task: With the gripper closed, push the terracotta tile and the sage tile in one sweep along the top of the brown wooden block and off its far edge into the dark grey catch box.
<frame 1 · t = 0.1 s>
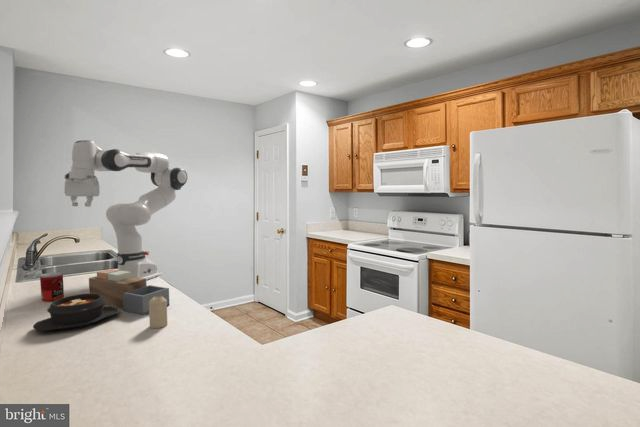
hand: (81, 206, 165), 39 cm above the countertop, tool pointing down, fingers open, 8 cm apart
canned food: (53, 300, 156), on the countertop
casserole: (78, 323, 129), on the countertop
tile terracotta: (108, 277, 153), point 10 cm above the countertop, touching brown wooden block
brown wooden block: (118, 302, 151), on the countertop
catch box: (147, 308, 144), on the countertop
candle: (158, 326, 125), on the countertop
tile sage: (119, 278, 150), point 10 cm above the countertop, touching brown wooden block
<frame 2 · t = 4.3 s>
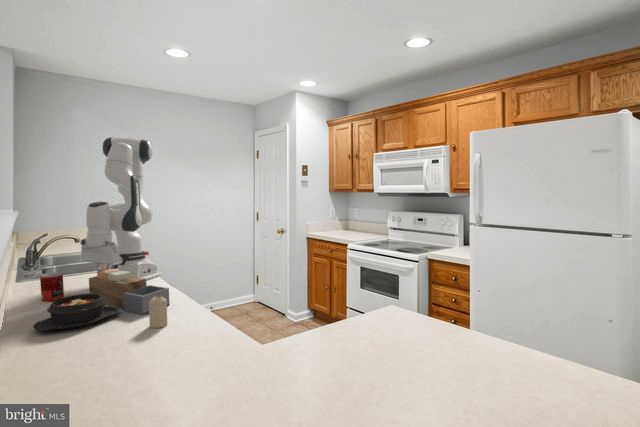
hand: (101, 273, 154), 11 cm above the countertop, tool pointing down, fingers closed
tile terracotta: (108, 277, 153), point 10 cm above the countertop, touching gripper
everything else where it was.
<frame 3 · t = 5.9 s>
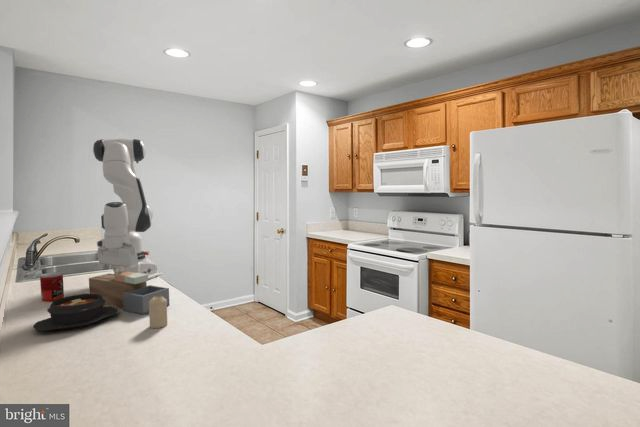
hand: (118, 276, 149), 11 cm above the countertop, tool pointing down, fingers closed
tile terracotta: (126, 279, 148), point 10 cm above the countertop, touching gripper, tile sage
tile sage: (136, 281, 145), point 10 cm above the countertop, touching tile terracotta, brown wooden block
everything else where it was.
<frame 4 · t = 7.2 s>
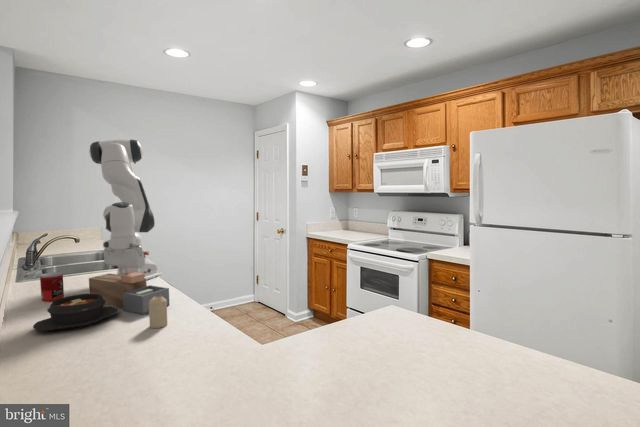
hand: (125, 277, 148), 11 cm above the countertop, tool pointing down, fingers closed
tile terracotta: (133, 280, 146), point 10 cm above the countertop, touching gripper
tile sage: (142, 298, 144), point 4 cm above the countertop, tilted 90°, touching catch box
everything else where it was.
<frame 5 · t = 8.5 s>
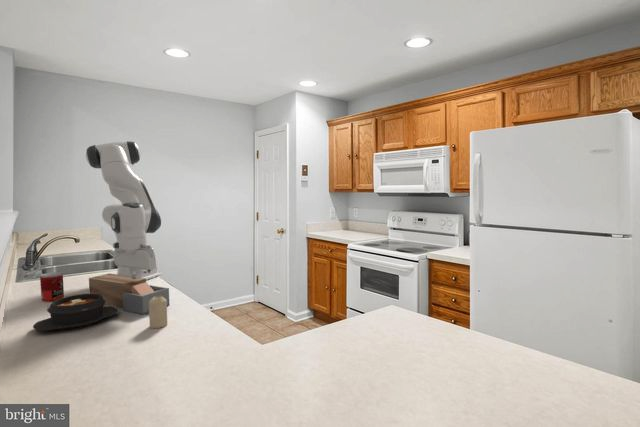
hand: (135, 278, 145), 11 cm above the countertop, tool pointing down, fingers closed
tile terracotta: (141, 293, 144), point 5 cm above the countertop, tilted 35°, touching catch box, tile sage
tile sage: (147, 297, 143), point 4 cm above the countertop, tilted 137°, touching catch box, tile terracotta
everything else where it was.
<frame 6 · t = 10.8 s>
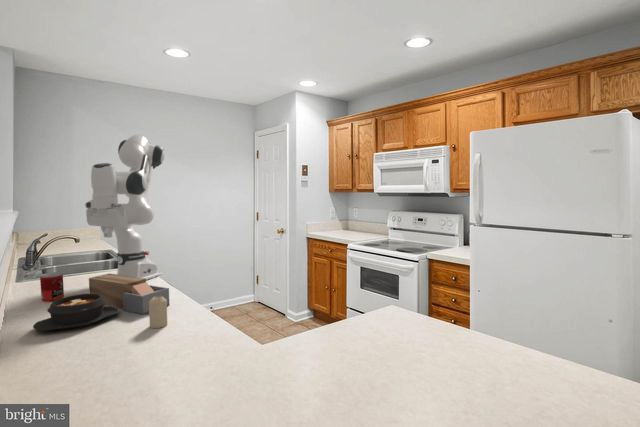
hand: (108, 237, 151), 27 cm above the countertop, tool pointing down, fingers closed
nothing on the countertop moved.
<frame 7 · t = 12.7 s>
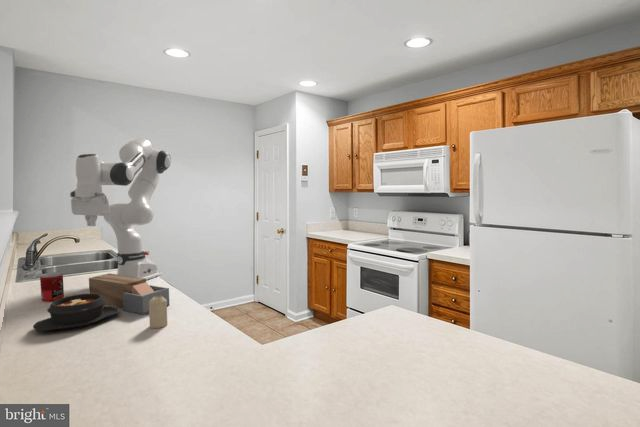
hand: (91, 226, 154), 31 cm above the countertop, tool pointing down, fingers closed
nothing on the countertop moved.
at the end: tile terracotta inside the target area on the catch box (2.5 cm from its centre), point 5.4 cm above the catch box's base; tile sage inside the target area on the catch box (0.8 cm from its centre), point 4.5 cm above the catch box's base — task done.
